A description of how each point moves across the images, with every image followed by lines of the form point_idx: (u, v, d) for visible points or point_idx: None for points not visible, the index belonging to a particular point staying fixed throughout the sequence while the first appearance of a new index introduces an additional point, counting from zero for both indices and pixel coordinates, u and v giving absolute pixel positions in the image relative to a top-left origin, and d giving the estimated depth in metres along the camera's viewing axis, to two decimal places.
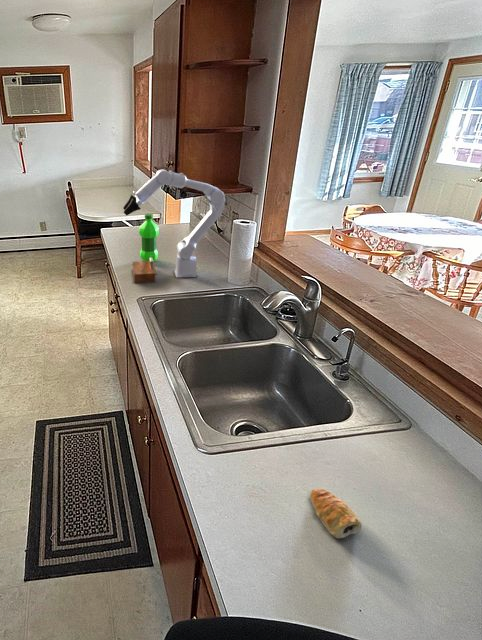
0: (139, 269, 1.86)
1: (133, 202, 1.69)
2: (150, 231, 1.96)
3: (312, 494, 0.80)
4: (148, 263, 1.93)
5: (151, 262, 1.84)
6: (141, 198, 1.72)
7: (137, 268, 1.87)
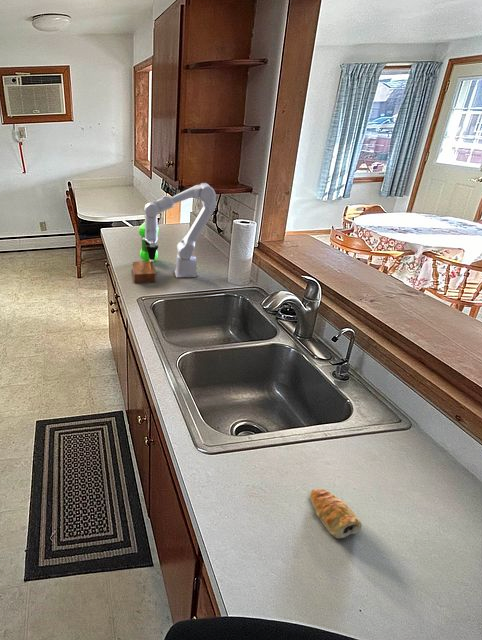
0: (139, 269, 1.86)
1: (148, 248, 1.78)
2: None
3: (312, 494, 0.80)
4: (148, 263, 1.93)
5: (151, 262, 1.84)
6: (151, 238, 1.79)
7: (137, 268, 1.87)
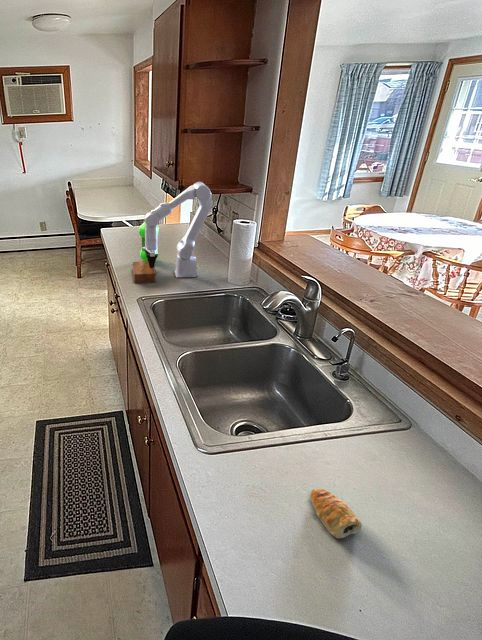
0: (139, 269, 1.86)
1: (148, 256, 1.81)
2: None
3: (312, 494, 0.80)
4: (148, 263, 1.93)
5: None
6: (152, 248, 1.81)
7: (137, 268, 1.87)
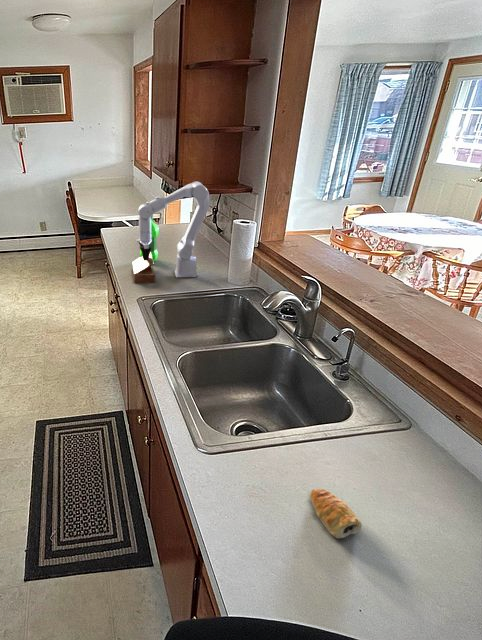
0: (138, 266, 1.86)
1: (142, 249, 1.79)
2: None
3: (312, 494, 0.80)
4: None
5: None
6: (145, 240, 1.80)
7: (136, 266, 1.87)
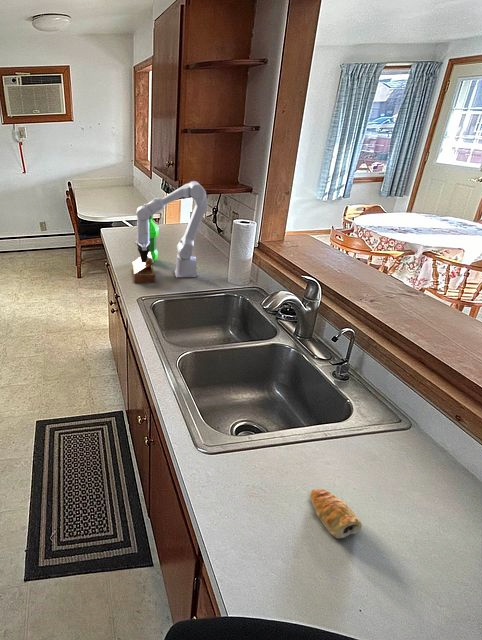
0: (138, 266, 1.86)
1: (140, 250, 1.79)
2: (150, 231, 1.96)
3: (312, 494, 0.80)
4: None
5: None
6: (143, 242, 1.80)
7: (136, 266, 1.87)
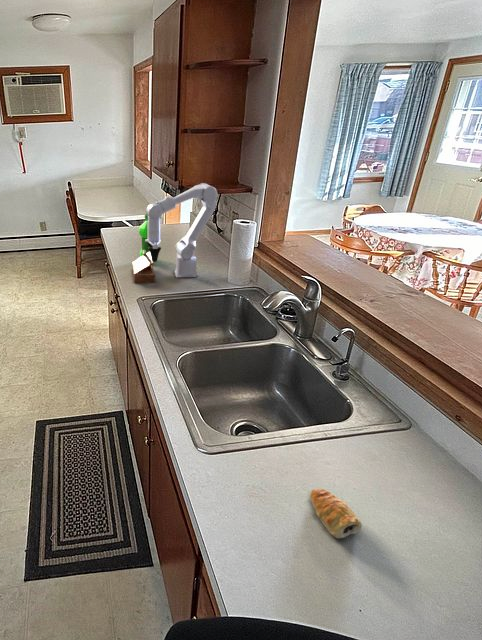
0: (138, 266, 1.86)
1: (151, 249, 1.76)
2: None
3: (312, 494, 0.80)
4: (145, 256, 1.91)
5: (144, 255, 1.83)
6: (154, 240, 1.77)
7: (136, 266, 1.87)
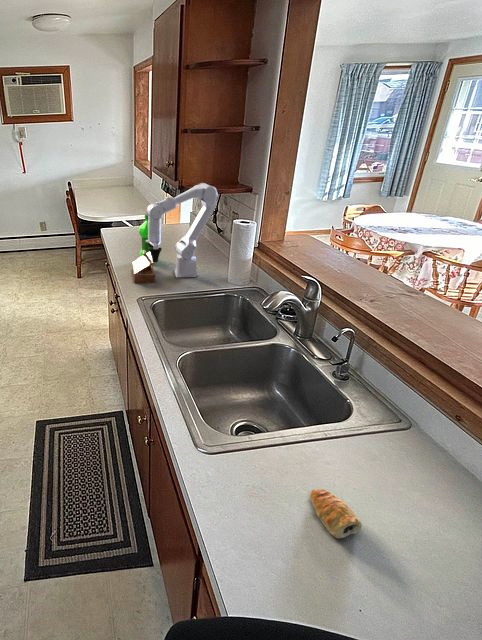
0: (138, 266, 1.86)
1: (152, 250, 1.75)
2: None
3: (312, 494, 0.80)
4: (145, 256, 1.91)
5: (144, 255, 1.83)
6: (155, 240, 1.77)
7: (136, 266, 1.87)
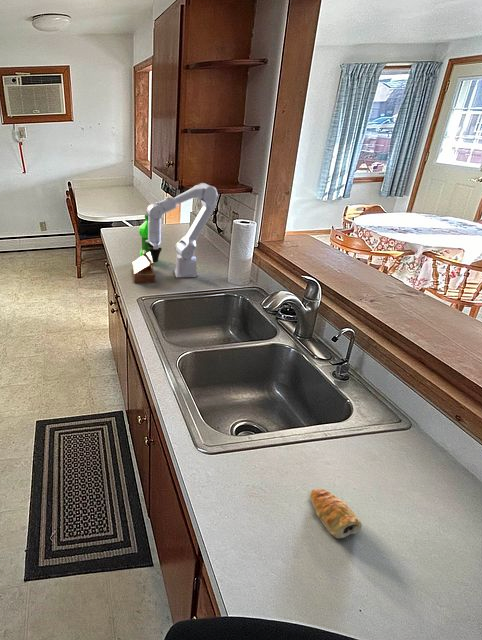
0: (138, 266, 1.86)
1: (152, 250, 1.75)
2: None
3: (312, 494, 0.80)
4: (145, 256, 1.91)
5: (144, 255, 1.83)
6: (155, 240, 1.77)
7: (136, 266, 1.87)
